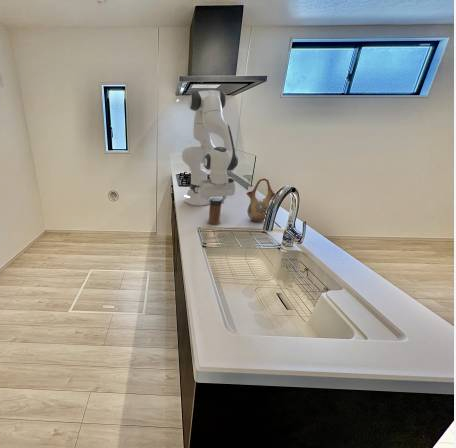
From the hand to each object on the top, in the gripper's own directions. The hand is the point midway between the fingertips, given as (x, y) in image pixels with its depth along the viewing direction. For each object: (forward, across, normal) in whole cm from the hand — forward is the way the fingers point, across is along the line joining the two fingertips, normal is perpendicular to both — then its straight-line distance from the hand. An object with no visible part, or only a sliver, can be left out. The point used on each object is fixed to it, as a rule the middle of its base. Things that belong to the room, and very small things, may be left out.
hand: (215, 203), depth 133 cm
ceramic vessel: (+12, +26, -3) cm, 28 cm away
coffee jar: (+11, 0, 0) cm, 11 cm away
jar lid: (-2, 0, 0) cm, 2 cm away
